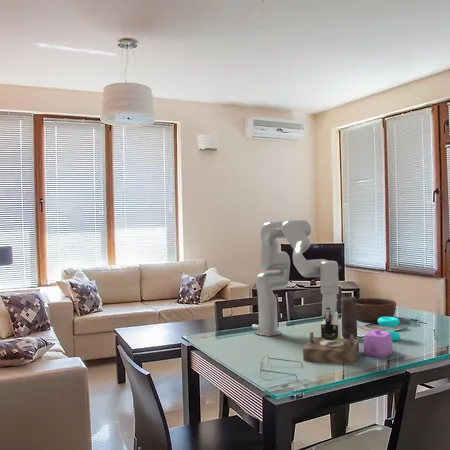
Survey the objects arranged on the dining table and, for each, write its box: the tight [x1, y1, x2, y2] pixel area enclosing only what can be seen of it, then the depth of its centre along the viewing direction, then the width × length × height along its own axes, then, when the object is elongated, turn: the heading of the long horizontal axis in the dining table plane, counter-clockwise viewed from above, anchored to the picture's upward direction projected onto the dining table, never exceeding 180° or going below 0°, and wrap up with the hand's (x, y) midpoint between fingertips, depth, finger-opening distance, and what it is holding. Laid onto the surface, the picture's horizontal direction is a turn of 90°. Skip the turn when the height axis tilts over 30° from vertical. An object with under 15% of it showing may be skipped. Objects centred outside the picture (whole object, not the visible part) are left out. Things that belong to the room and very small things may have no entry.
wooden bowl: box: [356, 297, 397, 323], centre depth 270 cm, size 25×25×10 cm
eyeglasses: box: [259, 354, 303, 379], centre depth 180 cm, size 16×15×5 cm
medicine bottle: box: [320, 310, 342, 341], centre depth 199 cm, size 7×7×12 cm
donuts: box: [377, 316, 401, 342], centre depth 223 cm, size 10×10×10 cm
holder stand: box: [302, 331, 360, 365], centre depth 199 cm, size 20×20×9 cm
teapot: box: [363, 328, 393, 359], centre depth 199 cm, size 18×10×10 cm, turn 146°
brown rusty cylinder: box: [340, 296, 358, 339], centre depth 227 cm, size 8×7×20 cm
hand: (330, 331), depth 199 cm, fingers closed on medicine bottle, 7 cm apart
